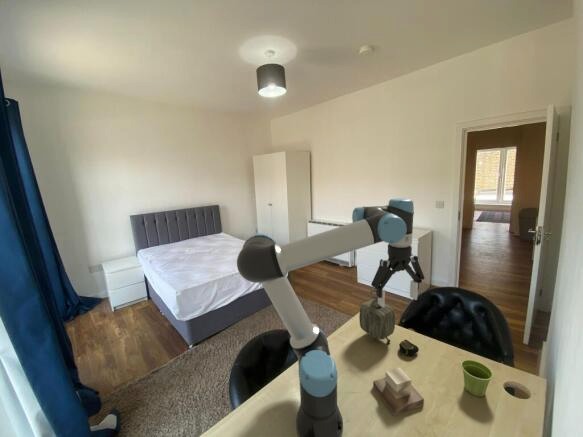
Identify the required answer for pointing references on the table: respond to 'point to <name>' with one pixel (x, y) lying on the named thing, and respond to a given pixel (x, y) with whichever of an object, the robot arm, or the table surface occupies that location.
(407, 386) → the cube
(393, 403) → the stand
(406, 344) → the tape measure
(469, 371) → the plant pot
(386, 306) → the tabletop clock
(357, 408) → the table surface
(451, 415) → the table surface
